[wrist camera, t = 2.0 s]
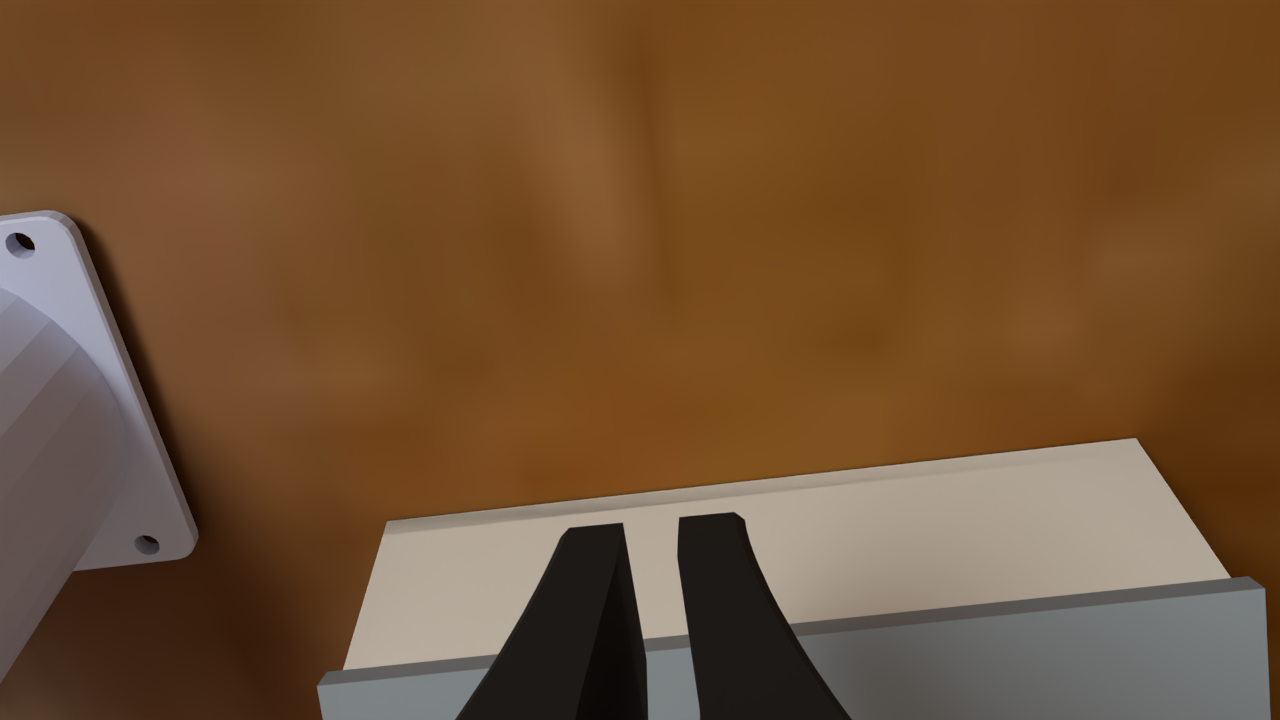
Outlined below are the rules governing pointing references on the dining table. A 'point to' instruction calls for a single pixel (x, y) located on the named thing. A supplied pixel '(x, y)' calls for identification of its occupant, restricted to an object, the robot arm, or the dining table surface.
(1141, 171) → the dining table surface
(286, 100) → the dining table surface
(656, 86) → the dining table surface
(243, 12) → the dining table surface
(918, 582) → the box
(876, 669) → the lid
